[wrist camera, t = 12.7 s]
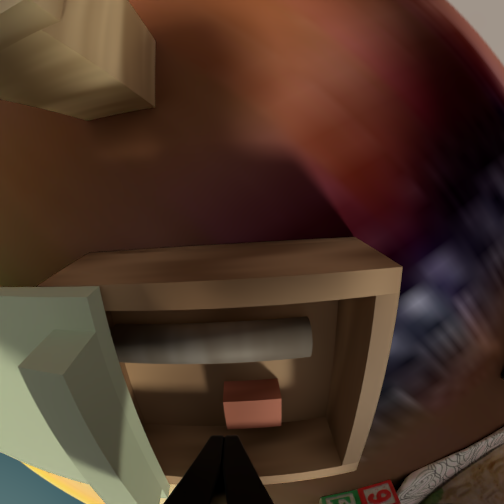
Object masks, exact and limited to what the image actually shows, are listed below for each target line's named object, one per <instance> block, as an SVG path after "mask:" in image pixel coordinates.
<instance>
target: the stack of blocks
mask: <svg viewBox="0 0 504 504" xmlns="http://www.w3.org/2000/svg"><path fill="white" fill-rule="evenodd" d="M319 504H401V502H400V500H399V498H398V496H397V494H396V492H395V489H394V486H393V484H392V482H391V480H387V481H384V482H380V483H377V484H374V485H370V486H367V487H363V488H359V489H356V490H352V491H348V492H344V493H339V494H334V495H330V496H324V497H321V498H320V501H319Z"/></svg>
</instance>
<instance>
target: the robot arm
mask: <svg viewBox="0 0 504 504" xmlns="http://www.w3.org/2000/svg"><path fill="white" fill-rule="evenodd" d="M501 378H502V379H503V380H504V370H503V372H502V375H501ZM164 504H274V503H273V501H272V500H271V498H270V496H269V494H268V492H267V491H266V489H265V487H264V485H263V483H262V481H261V479H260V478H259V476H258V474H257V472H256V470H255V468H254V466H253V464H252V462H251V460H250V458H249V456H248V454H247V452H246V450H245V448H244V446H243V444H242V442H241V440H240V438H239V436H238V435H226V436H225V437H224V436H223V435H212V436H210V438H209V439H208V441H207V442H206V444H205V445H204V447H203V448H202V450H201V451H200V453H199V454H198V456H197V457H196V458H195V460H194V461H193V463H192V464H191V466H190V467H189V469H188V470H187V472H186V473H185V474H184V476H183V477H182V479H181V480H180V481H179V483H178V484H177V486H176V487H175V488H174V490H173V491H172V493H171V494H170V495H169V497H168V498H167V499H166V501H165V502H164Z"/></svg>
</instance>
